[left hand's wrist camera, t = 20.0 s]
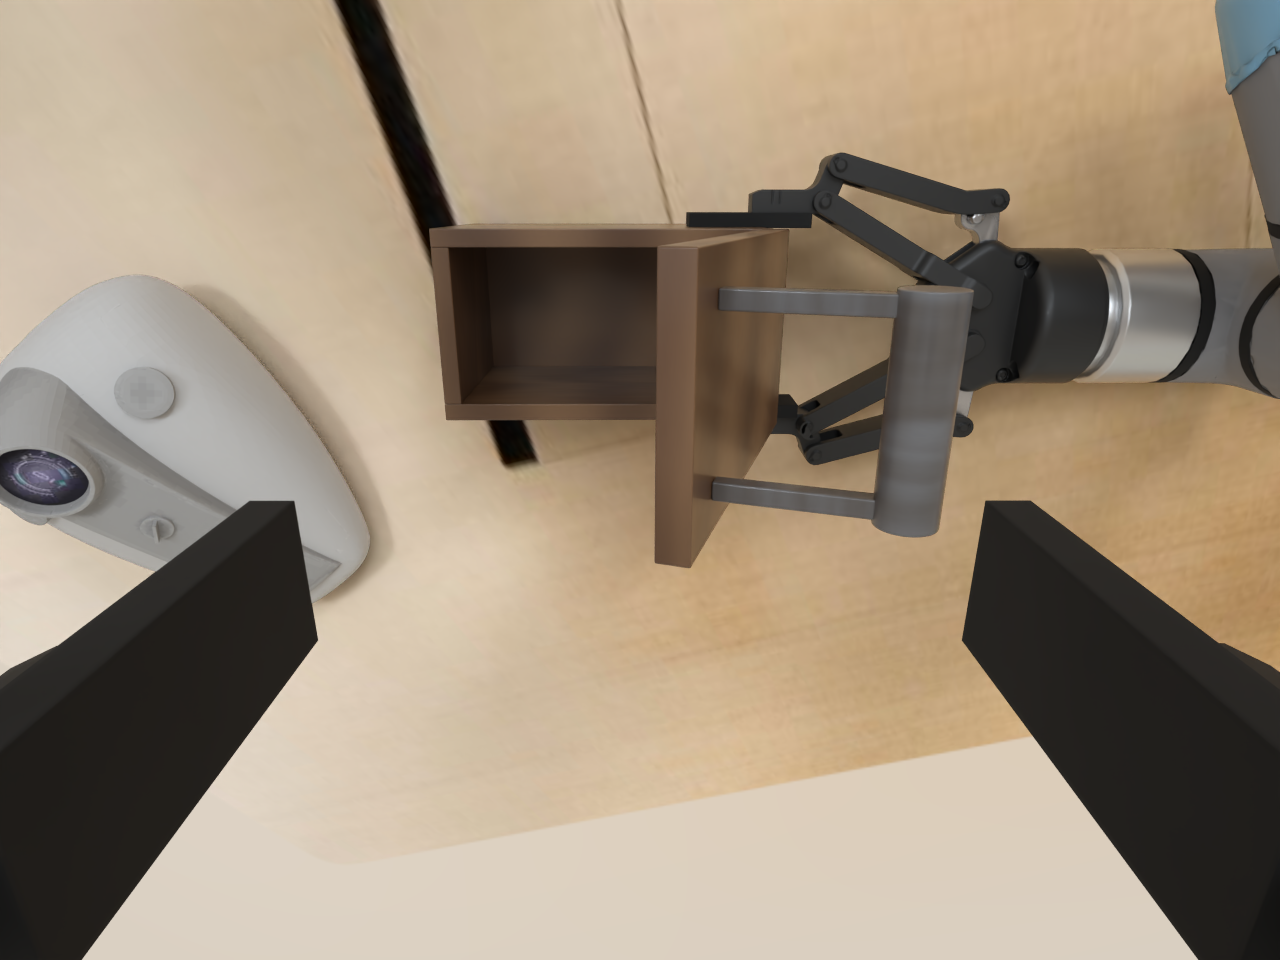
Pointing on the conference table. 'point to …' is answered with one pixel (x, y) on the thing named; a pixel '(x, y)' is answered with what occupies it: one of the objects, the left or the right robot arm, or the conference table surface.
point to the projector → (161, 433)
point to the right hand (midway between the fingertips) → (685, 316)
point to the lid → (749, 388)
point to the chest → (551, 318)
